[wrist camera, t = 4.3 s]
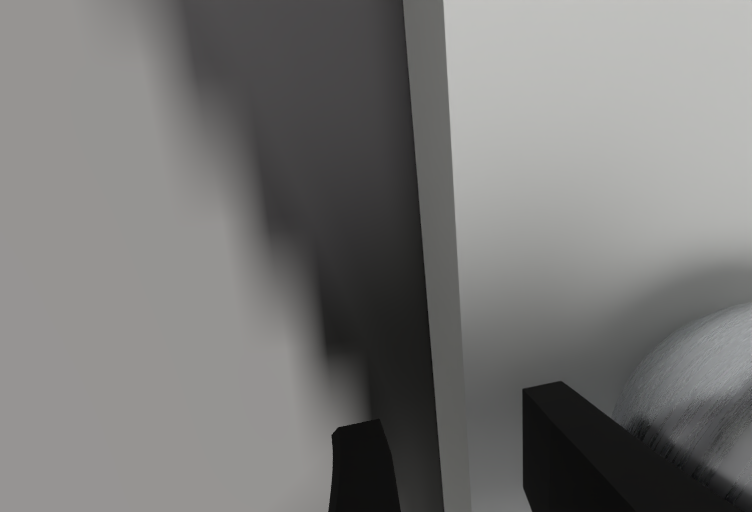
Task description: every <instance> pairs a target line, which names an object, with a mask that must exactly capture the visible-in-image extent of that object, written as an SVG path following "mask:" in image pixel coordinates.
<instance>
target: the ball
mask: <svg viewBox="0 0 752 512" xmlns="http://www.w3.org/2000/svg"><path fill="white" fill-rule="evenodd" d="M611 419H613V420H614V421H615V422H617V423H618V424H619V425H621V426H622V427H623V428H625V429H626V430H627V431H629V432H630V433H631V434H633V435H634V436H635V437H637V438H638V439H639V440H641V441H642V442H643V443H645V444H646V445H647V446H649V447H650V448H652V449H653V450H654V451H656V452H657V453H658V454H660V455H661V456H663V457H664V458H666V459H667V460H668V461H670V462H671V463H673V464H674V465H675V466H677V467H678V468H680V469H681V470H683V471H684V472H685V473H687V474H688V475H690V476H691V477H692V478H694V479H695V480H697V481H698V482H700V483H701V484H703V485H704V486H706V487H707V488H709V489H710V490H712V491H713V492H715V493H716V494H717V495H719V496H720V497H722V498H724V499H725V500H727V501H728V502H730V503H731V504H733V505H735V506H736V507H738V508H739V509H741V510H742V511H744V512H752V302H749V303H744V304H739V305H734V306H731V307H727V308H723V309H720V310H718V311H715V312H713V313H710V314H708V315H705V316H703V317H700V318H698V319H695V320H693V321H692V322H690V323H688V324H686V325H684V326H682V327H681V328H680V329H678V330H677V331H675V332H674V333H672V334H671V335H669V336H668V337H667V338H665V339H664V340H663V341H662V342H660V343H659V344H658V345H657V346H656V347H654V348H653V349H652V350H651V351H650V352H649V353H648V354H647V355H646V356H645V357H644V359H643V360H642V361H641V362H640V363H639V364H638V366H637V367H636V368H635V370H634V371H633V373H632V374H631V375H630V377H629V379H628V380H627V382H626V384H625V385H624V387H623V389H622V391H621V393H620V396H619V398H618V400H617V402H616V405H615V407H614V410H613V413H612V416H611Z"/></svg>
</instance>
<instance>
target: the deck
mask: <svg viewBox="0 0 752 512" xmlns="http://www.w3.org/2000/svg"><path fill="white" fill-rule="evenodd" d="M403 9H404V22H405V34H406V46H407V58H408V71H409V83H410V95H411V108H412V120H413V132H414V144H415V157H416V169H417V181H418V194H419V206H420V218H421V230H422V243H423V255H424V267H425V280H426V292H427V304H428V317H429V329H430V341H431V353H432V366H433V378H434V390H435V403H436V415H437V427H438V439H439V452H440V464H441V476H442V489H443V501H444V512H532V510H531V507H530V505H529V502H528V500H527V497H526V494H525V492H524V489H523V430H522V389H524V388H528V387H533V386H538V385H543V384H548V383H552V382H557V381H562V382H564V383H565V384H566V385H568V386H569V387H570V388H572V389H573V390H575V391H576V392H577V393H579V394H580V395H581V396H582V397H584V398H585V399H586V400H588V401H589V402H590V403H592V404H593V405H594V406H596V407H597V408H598V409H599V410H601V411H602V412H603V413H605V414H606V415H607V416H609V417H610V418H611V416H612V413H613V410H614V407H615V405H616V402H617V400H618V398H619V396H620V393H621V391H622V389H623V387H624V385H625V384H626V382H627V380H628V379H629V377H630V375H631V374H632V373H633V371H634V370H635V368H636V367H637V366H638V364H639V363H640V362H641V361H642V360H643V359H644V357H645V356H646V355H647V354H648V353H649V352H650V351H651V350H652V349H653V348H654V347H656V346H657V345H658V344H659V343H660V342H662V341H663V340H664V339H665V338H667V337H668V336H669V335H671V334H672V333H674V332H675V331H677V330H678V329H680V328H681V327H682V326H684V325H686V324H688V323H690V322H692V321H693V320H695V319H698V318H700V317H703V316H705V315H708V314H710V313H713V312H715V311H718V310H720V309H723V308H727V307H731V306H734V305H739V304H744V303H749V302H752V0H403Z"/></svg>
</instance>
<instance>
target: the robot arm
mask: <svg viewBox="0 0 752 512" xmlns="http://www.w3.org/2000/svg"><path fill="white" fill-rule="evenodd" d="M522 430H523V489H524V492H525V494H526V497H527V500H528V502H529V505H530V507H531V510H532V512H744V511H742V510H741V509H739V508H738V507H736V506H735V505H733V504H731V503H730V502H728V501H727V500H725V499H724V498H722V497H720V496H719V495H717V494H716V493H715V492H713V491H712V490H710V489H709V488H707V487H706V486H704V485H703V484H701V483H700V482H698V481H697V480H695V479H694V478H692V477H691V476H690V475H688V474H687V473H685V472H684V471H683V470H681V469H680V468H678V467H677V466H675V465H674V464H673V463H671V462H670V461H668V460H667V459H666V458H664V457H663V456H661V455H660V454H658V453H657V452H656V451H654V450H653V449H652V448H650V447H649V446H647V445H646V444H645V443H643V442H642V441H641V440H639V439H638V438H637V437H635V436H634V435H633V434H631V433H630V432H629V431H627V430H626V429H625V428H623V427H622V426H621V425H619V424H618V423H617V422H615V421H614V420H613V419H611V418H610V417H609V416H607V415H606V414H605V413H603V412H602V411H601V410H599V409H598V408H597V407H596V406H594V405H593V404H592V403H590V402H589V401H588V400H586V399H585V398H584V397H582V396H581V395H580V394H579V393H577V392H576V391H575V390H573V389H572V388H570V387H569V386H568V385H566V384H565V383H564V382H562V381H557V382H552V383H548V384H543V385H538V386H533V387H528V388H524V389H522ZM332 445H333V471H332V485H331V494H330V503H329V511H328V512H401V510H400V504H399V497H398V491H397V485H396V479H395V473H394V466H393V460H392V455H391V452H390V449H389V445H388V442H387V439H386V436H385V434H384V431H383V428H382V425H381V422H380V420H379V419H376V420H371V421H366V422H362V423H357V424H352V425H347V426H343V427H338V428H337V429H336V430H335V432H334V433H333V434H332Z"/></svg>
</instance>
